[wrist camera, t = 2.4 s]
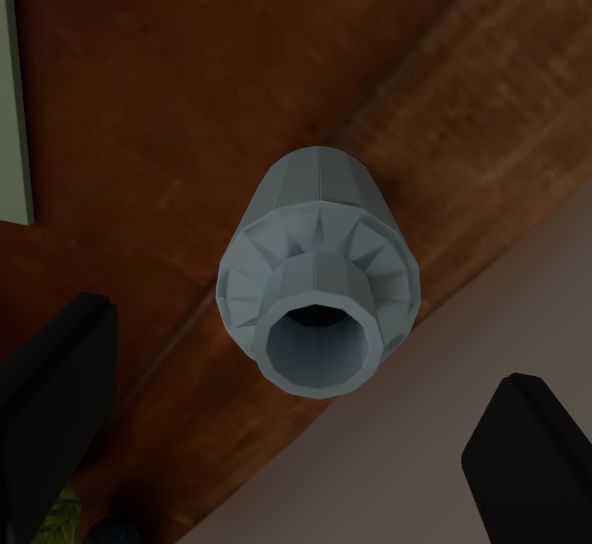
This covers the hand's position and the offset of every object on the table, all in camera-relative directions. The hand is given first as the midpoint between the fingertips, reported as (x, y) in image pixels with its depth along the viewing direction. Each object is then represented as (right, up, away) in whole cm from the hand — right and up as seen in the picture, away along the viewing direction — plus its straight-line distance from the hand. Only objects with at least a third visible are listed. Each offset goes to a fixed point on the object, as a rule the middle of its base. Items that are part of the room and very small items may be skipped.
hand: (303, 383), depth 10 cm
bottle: (+1, +6, +12) cm, 13 cm away
